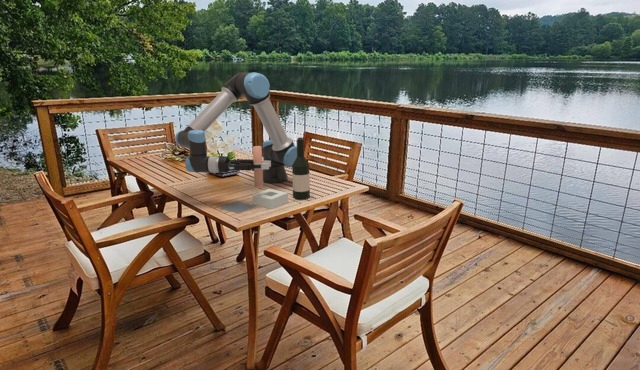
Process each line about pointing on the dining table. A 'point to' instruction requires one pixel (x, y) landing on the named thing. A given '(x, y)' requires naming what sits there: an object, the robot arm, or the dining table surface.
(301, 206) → the dining table surface
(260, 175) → the dowel
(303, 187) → the wine bottle
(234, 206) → the mat
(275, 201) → the socket block
